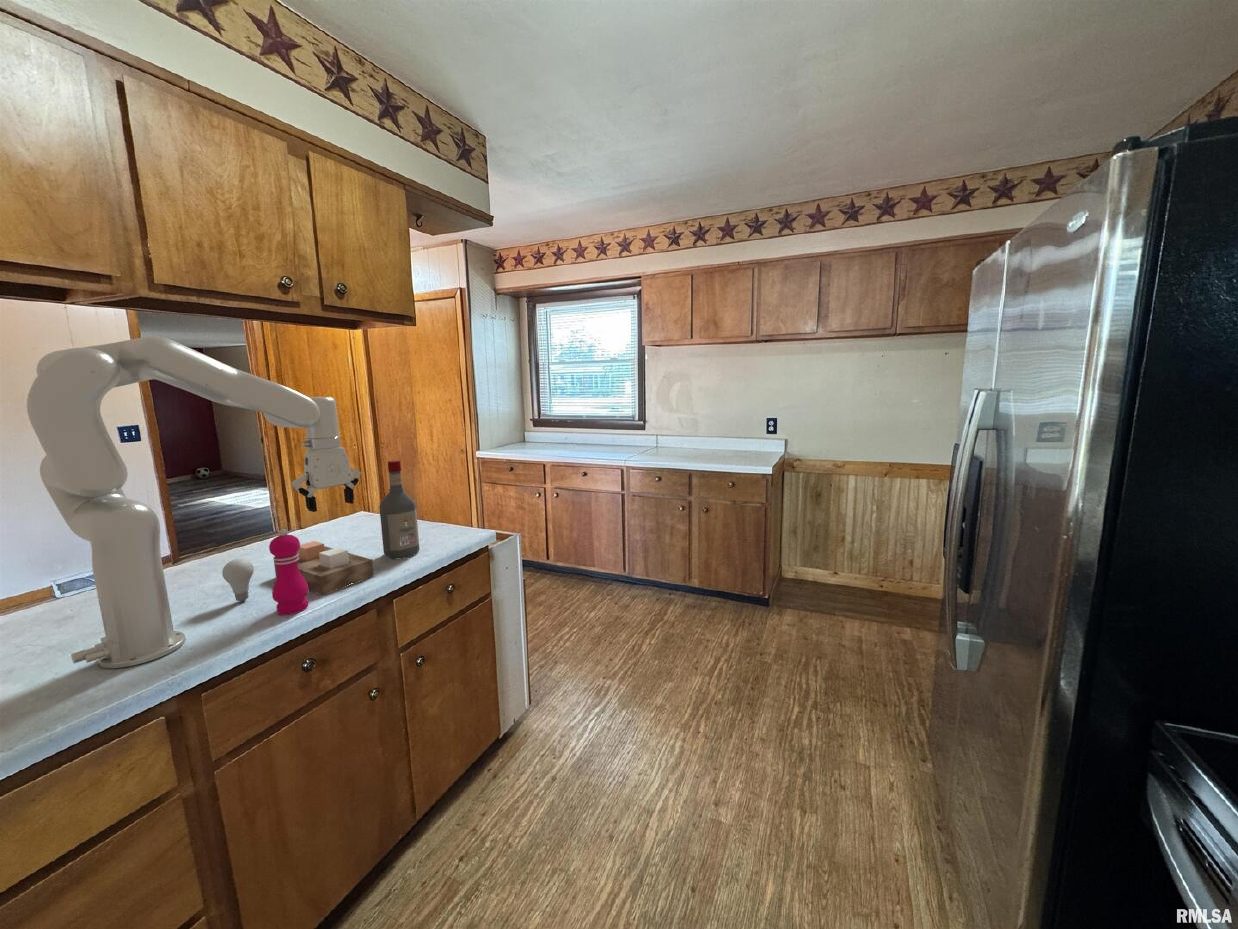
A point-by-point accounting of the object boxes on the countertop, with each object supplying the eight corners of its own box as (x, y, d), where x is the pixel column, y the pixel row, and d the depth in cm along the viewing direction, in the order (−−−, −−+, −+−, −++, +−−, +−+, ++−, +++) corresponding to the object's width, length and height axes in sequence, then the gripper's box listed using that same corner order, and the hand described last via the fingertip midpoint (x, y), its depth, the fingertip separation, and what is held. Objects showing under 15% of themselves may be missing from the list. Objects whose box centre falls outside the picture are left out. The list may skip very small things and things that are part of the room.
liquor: (422, 553, 155) (415, 460, 150) (394, 560, 148) (385, 464, 143) (409, 547, 161) (401, 458, 156) (381, 554, 154) (372, 461, 149)
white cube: (331, 573, 129) (329, 555, 128) (321, 570, 131) (319, 552, 131) (349, 567, 133) (347, 550, 132) (339, 564, 136) (337, 547, 135)
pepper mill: (292, 617, 112) (282, 534, 109) (266, 615, 113) (255, 532, 110) (317, 603, 119) (308, 525, 116) (293, 601, 120) (283, 524, 117)
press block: (322, 595, 124) (320, 576, 123) (276, 577, 136) (273, 560, 135) (373, 576, 136) (372, 559, 135) (326, 561, 148) (325, 546, 147)
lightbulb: (225, 609, 117) (218, 565, 115) (228, 600, 122) (222, 558, 120) (256, 602, 120) (250, 560, 118) (258, 594, 125) (252, 553, 123)
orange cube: (307, 565, 135) (305, 548, 134) (298, 562, 137) (296, 545, 137) (325, 560, 139) (323, 543, 138) (316, 557, 142) (314, 541, 141)
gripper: (295, 448, 118) (304, 516, 121) (364, 441, 132) (370, 501, 135) (280, 447, 122) (289, 512, 125) (348, 439, 136) (355, 498, 139)
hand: (331, 507), depth 130 cm, fingers open, 9 cm apart
